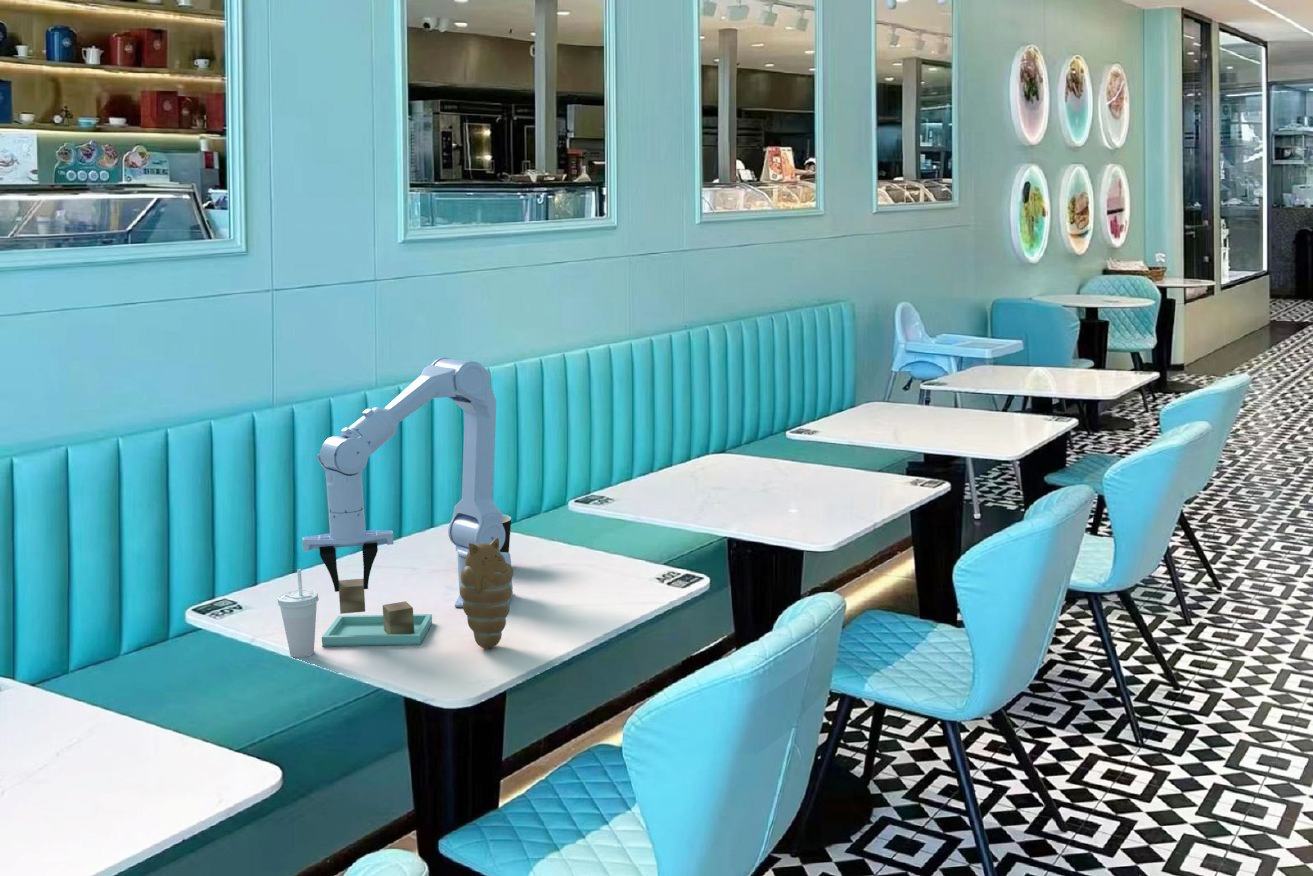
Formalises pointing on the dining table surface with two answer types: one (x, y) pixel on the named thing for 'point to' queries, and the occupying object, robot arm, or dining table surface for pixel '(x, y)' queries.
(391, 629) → the block
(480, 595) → the cat ice cream
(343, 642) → the tray
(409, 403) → the robot arm
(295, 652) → the smoothie
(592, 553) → the dining table surface
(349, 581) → the block
